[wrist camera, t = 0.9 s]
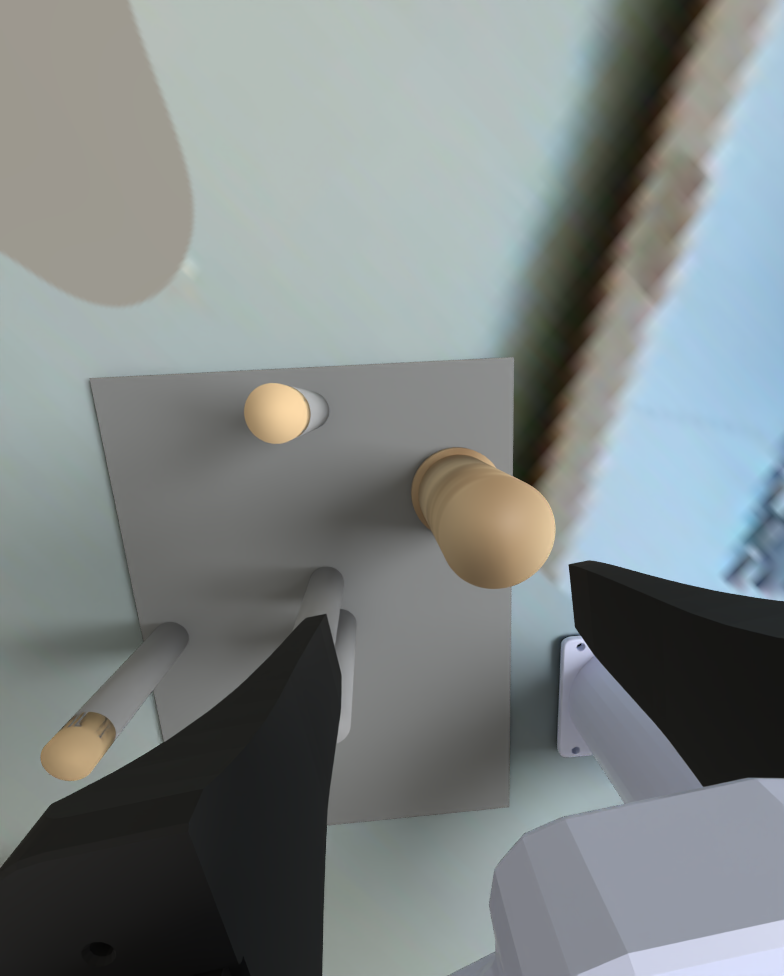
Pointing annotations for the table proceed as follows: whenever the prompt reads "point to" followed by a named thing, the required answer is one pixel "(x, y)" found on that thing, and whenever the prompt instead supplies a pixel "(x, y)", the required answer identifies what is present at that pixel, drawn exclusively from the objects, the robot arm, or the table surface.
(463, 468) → the cylinder
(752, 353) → the table surface
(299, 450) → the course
